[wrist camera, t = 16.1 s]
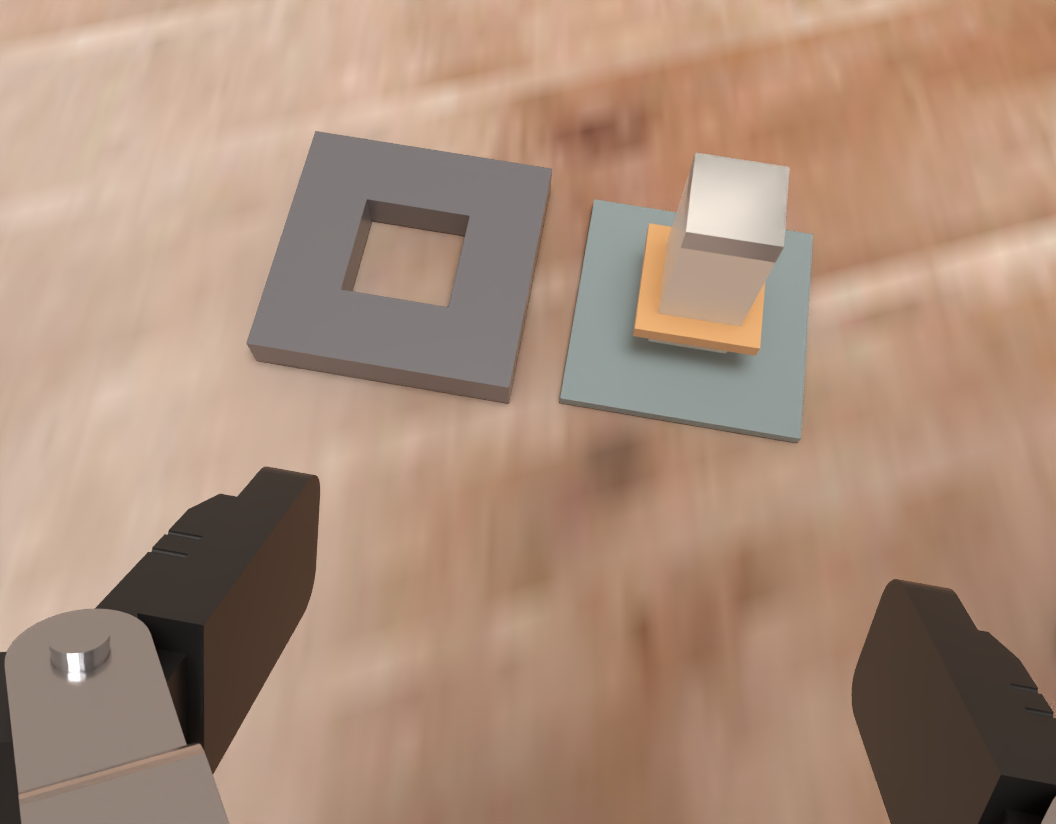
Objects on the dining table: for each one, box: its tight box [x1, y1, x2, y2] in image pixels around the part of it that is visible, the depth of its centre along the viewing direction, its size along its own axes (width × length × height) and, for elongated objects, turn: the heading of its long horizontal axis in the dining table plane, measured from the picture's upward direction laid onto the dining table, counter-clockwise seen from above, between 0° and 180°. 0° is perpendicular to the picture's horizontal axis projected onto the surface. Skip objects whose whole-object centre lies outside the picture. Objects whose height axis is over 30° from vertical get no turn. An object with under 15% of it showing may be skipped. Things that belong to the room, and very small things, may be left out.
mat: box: [559, 199, 813, 443], centre depth 46 cm, size 12×12×1 cm
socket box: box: [247, 131, 552, 403], centre depth 46 cm, size 13×13×2 cm
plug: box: [633, 153, 789, 356], centre depth 41 cm, size 6×6×10 cm
